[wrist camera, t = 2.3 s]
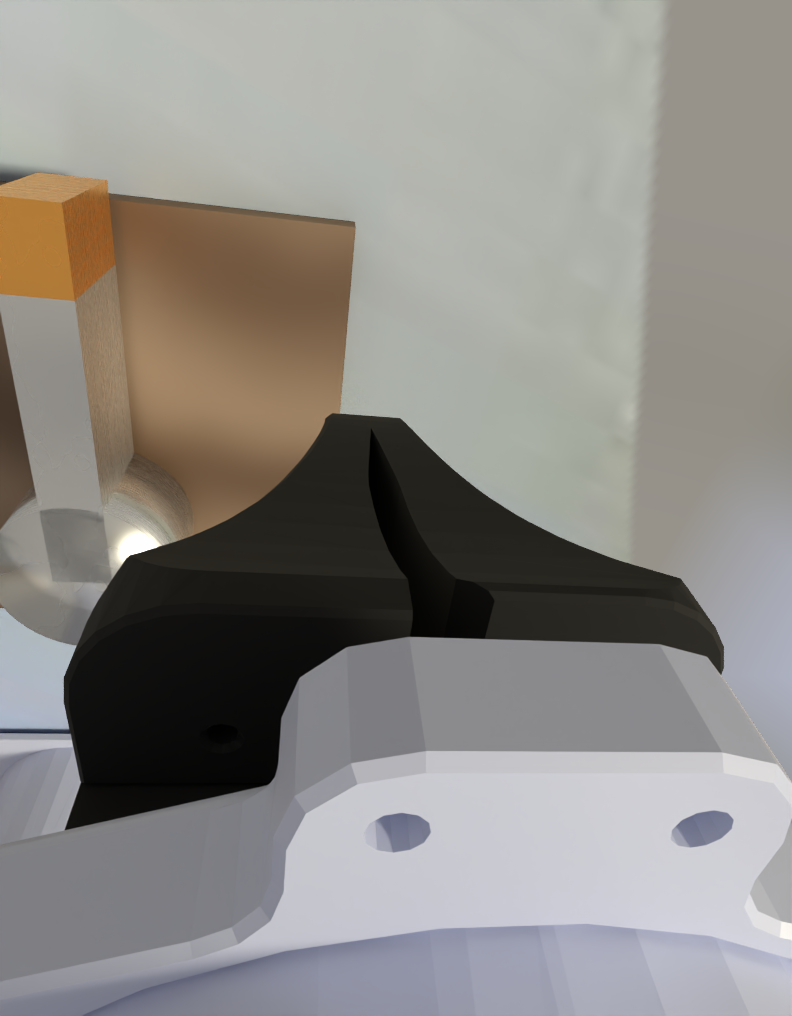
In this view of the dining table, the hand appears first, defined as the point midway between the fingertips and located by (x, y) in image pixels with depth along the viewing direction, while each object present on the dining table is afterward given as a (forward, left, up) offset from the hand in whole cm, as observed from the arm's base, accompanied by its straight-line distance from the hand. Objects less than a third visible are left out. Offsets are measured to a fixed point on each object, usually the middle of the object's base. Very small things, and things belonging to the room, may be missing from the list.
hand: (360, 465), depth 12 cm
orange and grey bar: (-3, +7, -8) cm, 11 cm away
